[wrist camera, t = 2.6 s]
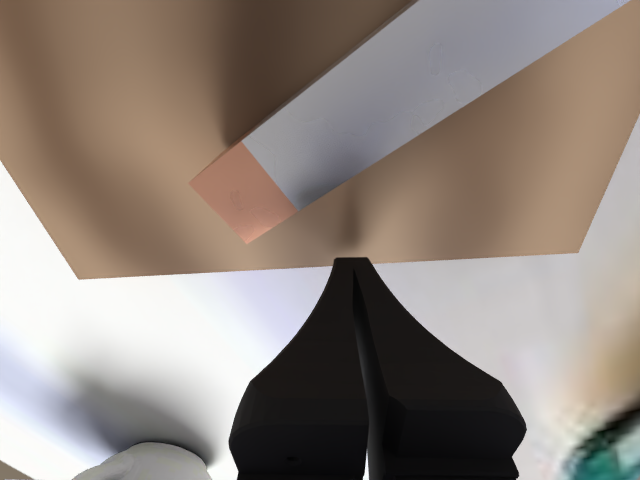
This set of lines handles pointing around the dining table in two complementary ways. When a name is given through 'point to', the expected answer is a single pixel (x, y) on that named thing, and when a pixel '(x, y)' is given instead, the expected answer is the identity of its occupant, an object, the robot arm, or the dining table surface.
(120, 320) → the dining table surface
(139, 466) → the teacup
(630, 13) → the board
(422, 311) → the dining table surface
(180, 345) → the dining table surface
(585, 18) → the tong arm
